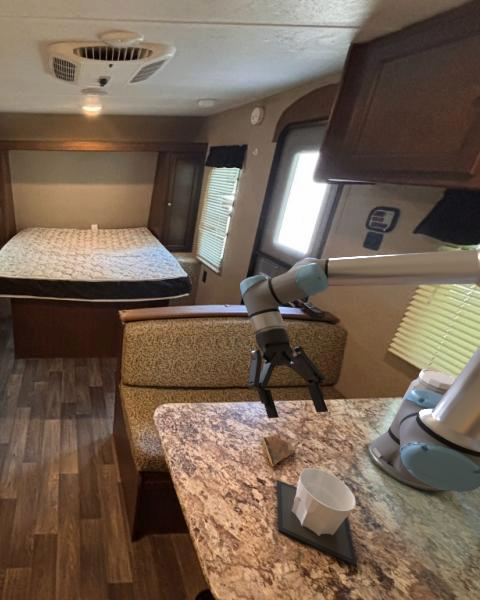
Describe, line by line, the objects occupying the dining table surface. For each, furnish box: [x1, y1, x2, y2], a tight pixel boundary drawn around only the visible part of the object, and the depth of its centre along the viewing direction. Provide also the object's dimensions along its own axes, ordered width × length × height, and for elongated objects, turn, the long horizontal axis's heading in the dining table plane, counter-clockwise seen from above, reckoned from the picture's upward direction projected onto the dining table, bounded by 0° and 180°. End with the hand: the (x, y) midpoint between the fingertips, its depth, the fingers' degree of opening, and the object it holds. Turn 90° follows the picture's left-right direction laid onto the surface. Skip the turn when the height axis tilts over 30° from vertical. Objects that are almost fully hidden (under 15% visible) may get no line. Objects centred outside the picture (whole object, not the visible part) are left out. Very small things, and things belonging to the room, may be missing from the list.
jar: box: [395, 368, 457, 413], centre depth 99 cm, size 10×10×18 cm
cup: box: [292, 467, 357, 536], centre depth 71 cm, size 10×10×10 cm
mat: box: [276, 479, 358, 568], centre depth 73 cm, size 14×14×1 cm
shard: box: [261, 433, 296, 467], centre depth 91 cm, size 11×8×2 cm
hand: (298, 415), depth 76 cm, fingers open, 13 cm apart
